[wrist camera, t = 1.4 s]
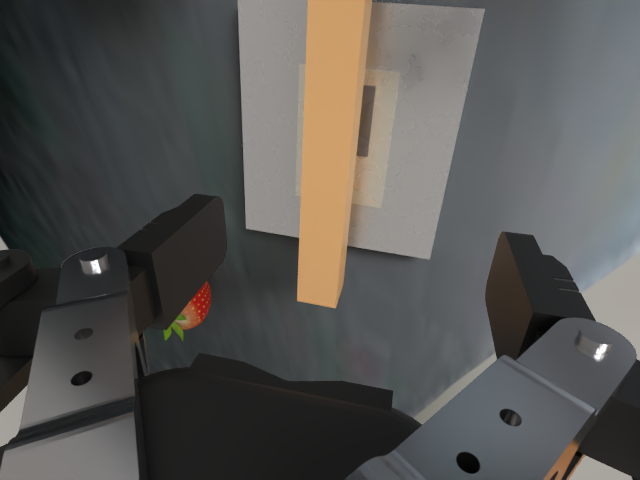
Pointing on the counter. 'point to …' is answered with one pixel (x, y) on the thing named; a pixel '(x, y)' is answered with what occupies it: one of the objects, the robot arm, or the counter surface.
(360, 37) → the swing arm
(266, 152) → the plate
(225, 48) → the counter surface
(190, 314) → the fruit
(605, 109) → the counter surface
